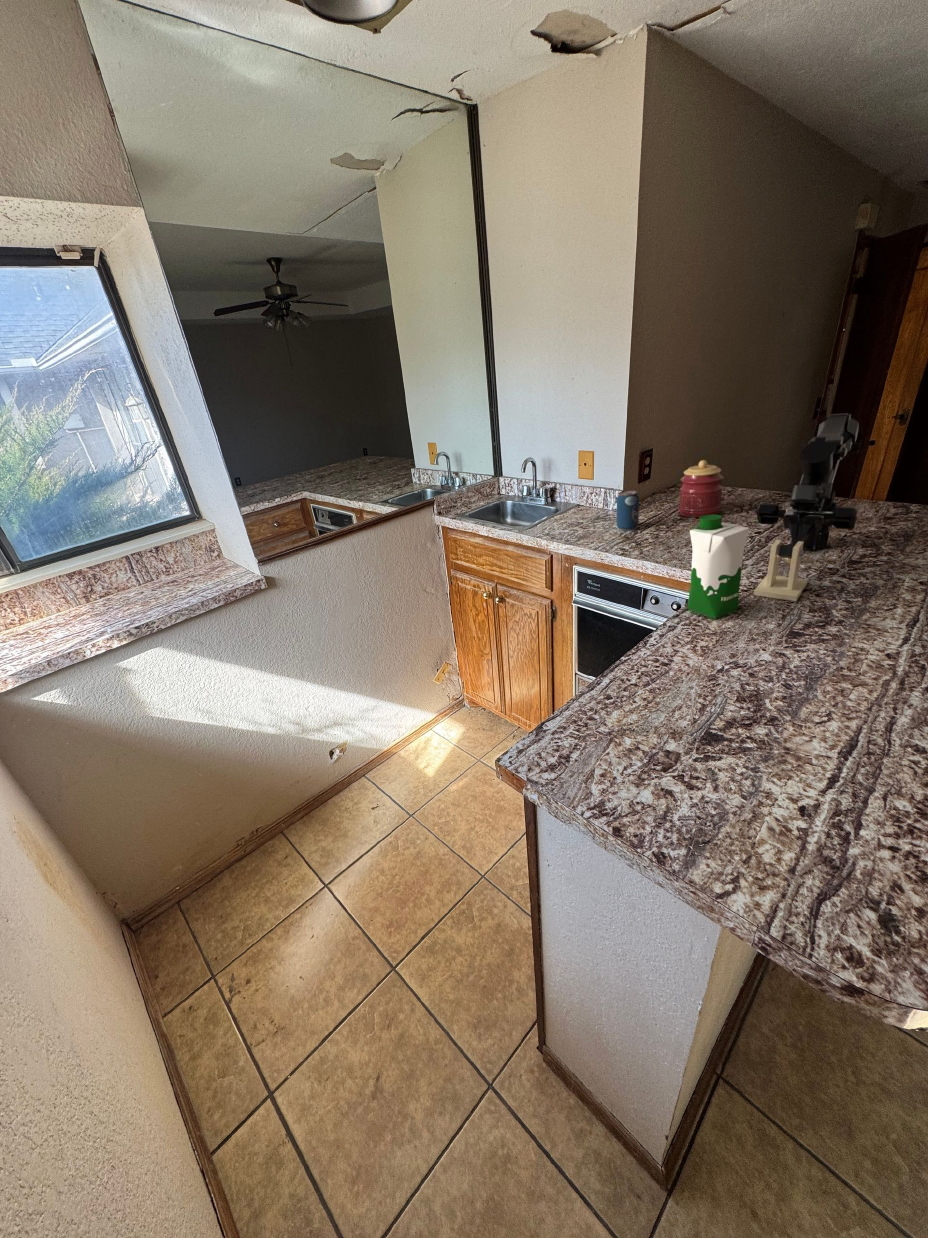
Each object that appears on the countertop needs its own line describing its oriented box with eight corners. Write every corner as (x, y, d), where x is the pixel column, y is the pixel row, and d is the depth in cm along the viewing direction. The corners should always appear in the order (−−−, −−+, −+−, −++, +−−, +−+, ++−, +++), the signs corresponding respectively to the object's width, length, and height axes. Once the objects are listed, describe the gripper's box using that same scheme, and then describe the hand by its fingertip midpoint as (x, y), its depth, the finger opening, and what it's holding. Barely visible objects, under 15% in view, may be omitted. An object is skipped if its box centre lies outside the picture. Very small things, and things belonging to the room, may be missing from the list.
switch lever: (782, 565, 112) (786, 550, 112) (800, 567, 110) (804, 552, 109) (773, 557, 103) (777, 541, 103) (793, 559, 101) (797, 542, 100)
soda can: (638, 530, 158) (638, 494, 153) (616, 531, 160) (616, 495, 155) (638, 524, 163) (639, 489, 158) (617, 525, 166) (617, 490, 161)
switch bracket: (766, 579, 112) (772, 534, 108) (806, 584, 107) (815, 538, 102) (753, 595, 106) (759, 549, 101) (796, 601, 101) (804, 553, 96)
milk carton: (708, 597, 108) (715, 510, 100) (745, 609, 101) (757, 516, 92) (680, 609, 105) (685, 520, 97) (717, 622, 98) (726, 528, 89)
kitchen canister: (727, 514, 159) (733, 460, 152) (687, 520, 160) (691, 465, 152) (710, 505, 171) (714, 454, 163) (673, 510, 172) (675, 460, 164)
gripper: (763, 468, 111) (743, 528, 109) (866, 468, 99) (845, 535, 97) (768, 494, 119) (750, 550, 117) (863, 496, 107) (844, 559, 105)
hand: (794, 548), depth 109 cm, fingers closed
